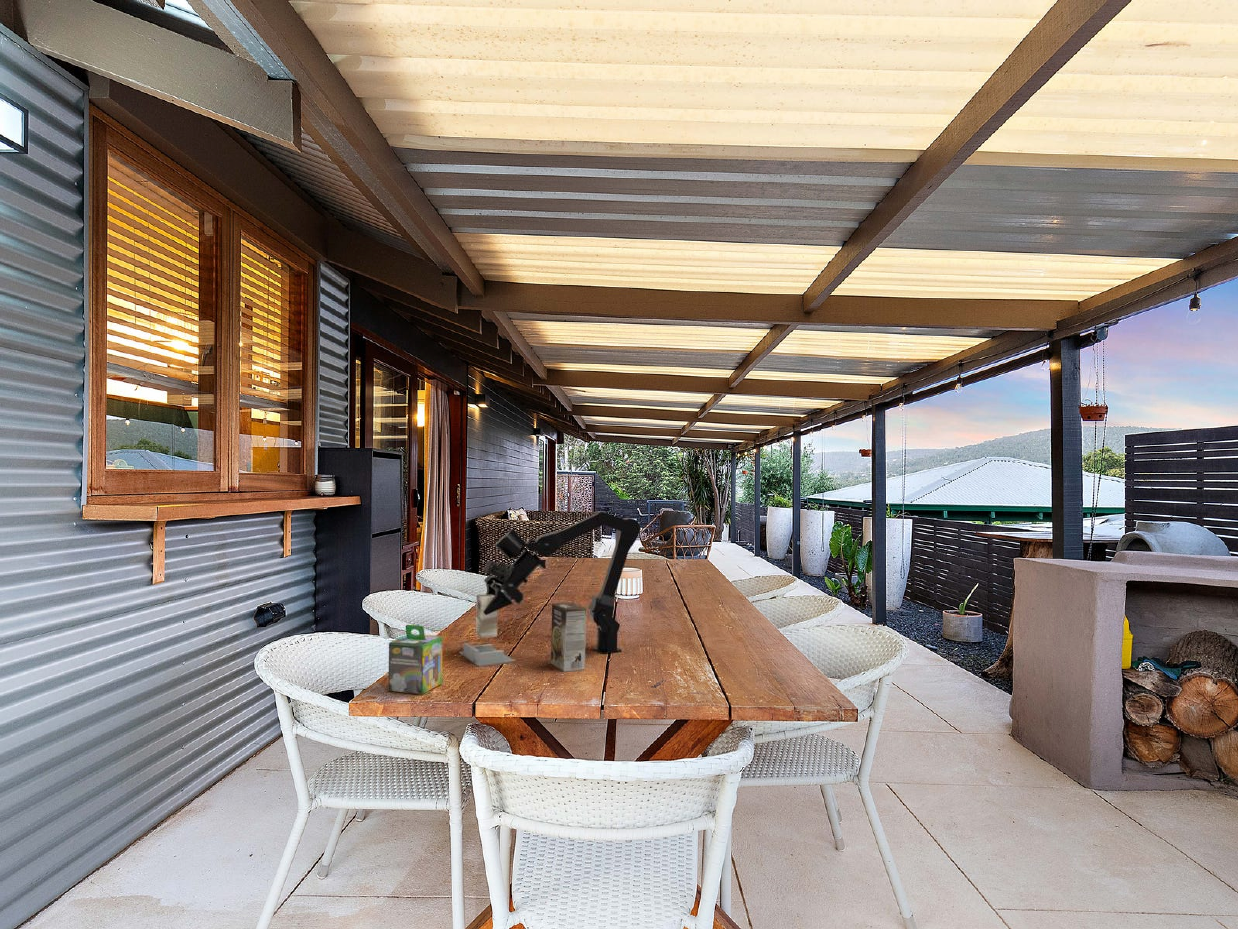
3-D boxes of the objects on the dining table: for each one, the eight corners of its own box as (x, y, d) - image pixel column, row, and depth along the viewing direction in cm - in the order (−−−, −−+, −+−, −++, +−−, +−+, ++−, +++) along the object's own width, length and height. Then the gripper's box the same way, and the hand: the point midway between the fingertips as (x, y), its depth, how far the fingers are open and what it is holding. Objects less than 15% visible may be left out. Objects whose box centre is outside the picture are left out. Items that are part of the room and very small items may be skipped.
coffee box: (549, 663, 182) (551, 603, 182) (571, 661, 185) (572, 601, 185) (563, 672, 174) (564, 609, 174) (586, 669, 177) (587, 607, 177)
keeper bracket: (515, 662, 182) (515, 649, 183) (479, 667, 177) (479, 653, 177) (493, 649, 196) (494, 637, 196) (459, 653, 191) (459, 641, 191)
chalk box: (443, 684, 161) (444, 622, 162) (421, 696, 152) (423, 629, 153) (409, 680, 164) (410, 619, 164) (386, 691, 155) (388, 626, 155)
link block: (497, 636, 186) (497, 596, 186) (480, 638, 184) (481, 597, 184) (491, 633, 190) (492, 594, 190) (475, 635, 187) (475, 595, 188)
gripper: (491, 547, 197) (453, 587, 192) (513, 554, 181) (471, 598, 175) (516, 573, 201) (479, 613, 195) (540, 582, 185) (500, 626, 179)
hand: (481, 612), depth 186 cm, fingers closed on link block, 5 cm apart
